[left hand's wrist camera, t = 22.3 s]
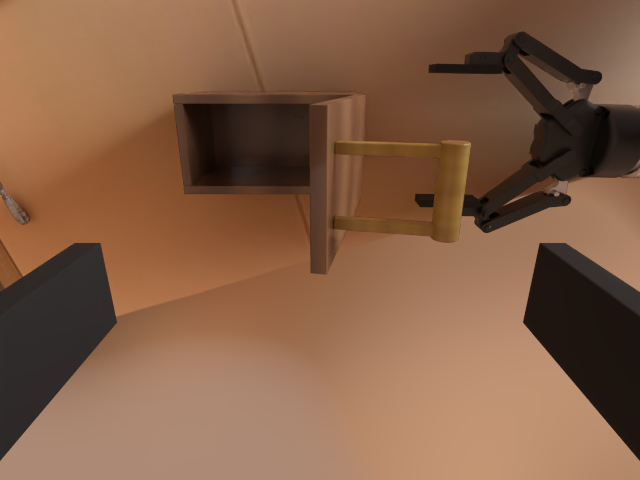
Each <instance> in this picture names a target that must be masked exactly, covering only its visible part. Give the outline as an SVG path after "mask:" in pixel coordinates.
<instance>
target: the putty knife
mask: <svg viewBox="0 0 640 480" xmlns="http://www.w3.org/2000/svg"><path fill="white" fill-rule="evenodd" d="M0 194H1V195H2V196H3V197H2V198H3V200H4V202H5V205H6V206H7V208H8V209H9V211H10V212H11V214H12V215H13V217H14V218H15V219H16V221H17V222H18V223H20V224H27V223H28V222H29V221H30V219H29V217H28V215H27V214H26V212H25V211H24V210H23V209H22V208H21V207H20V206H19V205H18V204H17V203H16V202H15V201H14V200H13V199H12V198H11V197H10V196H9V195H7V193H6V192H5V190H4V188H3V186H2V184H1V183H0Z"/></svg>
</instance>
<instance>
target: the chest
mask: <svg viewBox="0 0 640 480" xmlns="http://www.w3.org/2000/svg"><path fill="white" fill-rule="evenodd" d="M352 95H360V94H357V93H354V92H194V93H182V94H173V102H174V110H175V118H176V126H177V135H178V143H179V151H180V159H181V167H182V176H183V184H184V193H185V194H310V130H309V105H311V104H315V103H320V102H325V101H329V100H334V99H338V98H343V97H348V96H352Z"/></svg>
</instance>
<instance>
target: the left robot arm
mask: <svg viewBox="0 0 640 480" xmlns="http://www.w3.org/2000/svg"><path fill="white" fill-rule="evenodd" d="M116 323H117V321H116V316H115V311H114V306H113V301H112V297H111V292H110V287H109V282H108V278H107V273H106V268H105V263H104V258H103V254H102V249H101V244H100V243H74V244H73V245H71V246H70V247H68V248H67V249H65V250H63V251H62V252H60V253H59V254H57V255H56V256H54V257H53V258H51V259H50V260H48V261H47V262H45V263H44V264H42V265H41V266H39V267H38V268H36V269H35V270H33V271H32V272H30V273H28V274H27V275H25V276H24V277H22V278H21V279H19V280H18V281H16V282H15V283H13V284H12V285H10V286H9V287H7V288H6V289H4V290H3V291H1V292H0V460H1V459H2V458H3V457H4V456H5V454H6V453H7V452H8V451H9V450H10V449H11V447H12V446H13V445H14V444H15V443H16V441H17V440H18V439H19V438H20V437H21V436H22V434H23V433H24V432H25V431H26V430H27V428H28V427H29V426H30V425H31V424H32V422H33V421H34V420H35V419H36V418H37V417H38V415H39V414H40V413H41V412H42V411H43V409H44V408H45V407H46V406H47V405H48V404H49V402H50V401H51V400H52V399H53V398H54V396H55V395H56V394H57V393H58V392H59V390H60V389H61V388H62V387H63V386H64V385H65V383H66V382H67V381H68V380H69V379H70V377H71V376H72V375H73V374H74V373H75V372H76V370H77V369H78V368H79V367H80V366H81V364H82V363H83V362H84V361H85V360H86V358H87V357H88V356H89V355H90V354H91V353H92V351H93V350H94V349H95V348H96V347H97V345H98V344H99V343H100V342H101V341H102V340H103V338H104V337H105V336H106V335H107V334H108V332H109V331H110V330H111V329H112V328H113V327H114V325H115V324H116ZM523 323H524V324H525V325H526V327H527V328H528V329H529V330H530V331H531V332H532V334H533V335H534V336H535V337H536V338H537V340H538V341H539V342H540V343H541V344H542V345H543V347H544V348H545V349H546V350H547V351H548V353H549V354H550V355H551V356H552V357H553V358H554V360H555V361H556V362H557V363H558V364H559V365H560V367H561V368H562V369H563V370H564V371H565V373H566V374H567V375H568V376H569V377H570V379H571V380H572V381H573V382H574V383H575V385H576V386H577V387H578V388H579V389H580V390H581V392H582V393H583V394H584V395H585V396H586V398H587V399H588V400H589V401H590V402H591V404H592V405H593V406H594V407H595V408H596V409H597V411H598V412H599V413H600V414H601V415H602V417H603V418H604V419H605V420H606V421H607V422H608V424H609V425H610V426H611V427H612V428H613V430H614V431H615V432H616V433H617V434H618V436H619V437H620V438H621V439H622V440H623V441H624V443H625V444H626V445H627V446H628V447H629V449H630V450H631V451H632V452H633V453H634V454H635V456H636V457H637V458H638V459H639V460H640V292H639V291H637V290H636V289H634V288H633V287H631V286H630V285H628V284H627V283H625V282H624V281H622V280H621V279H619V278H618V277H616V276H615V275H613V274H612V273H610V272H608V271H607V270H605V269H604V268H602V267H601V266H599V265H598V264H596V263H595V262H593V261H592V260H590V259H589V258H587V257H586V256H584V255H583V254H581V253H579V252H578V251H577V250H575V249H573V248H572V247H570V246H569V245H567V244H566V243H540V244H539V249H538V254H537V258H536V263H535V268H534V273H533V278H532V282H531V287H530V292H529V297H528V301H527V306H526V311H525V316H524V321H523Z"/></svg>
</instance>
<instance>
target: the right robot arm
mask: <svg viewBox="0 0 640 480" xmlns="http://www.w3.org/2000/svg"><path fill="white" fill-rule="evenodd" d="M518 54H519V55H520V56H522V57H523V58H525V59H526V60H528V61H530V62H531V63H533V64H534V65H536V66H538V67H539V68H541V69H542V70H544V71H545V72H547V73H549V74H550V75H552V76H553V77H555V78H557V79H558V80H560V81H563V82H567V88H568V90H569V91H571V92H573V94H574V99H571V100H569V101H568V102H566V103H565V104H563V105H562V103H561V102H559V101H558V100H556V99H555V98H554V97H553V96H552V95H551V94H550V93H549V92H548V90H547V89H546V88H545V87H544V86H543V85H542V84H541V82H540V81H539V80H538V79H537V78H536V77H535V76H534V74H533V73H532V72H531V71H530V70H529V69H528V68H527V66H526V65H525V64H524V63H523V62H522V61H521V60H520V58H519V57H518V56H517V55H518ZM428 73H461V74H502V73H503V74H504V75H505V76H506V77H507V78H508V79H509V80H510V81H511V83H512V84H513V85H514V86H515V87H516V88H517V89H518V90H519V91H520V93H521V94H522V95H523V96H524V97H525V98H526V99H527V100H528V101H529V103H530V104H531V105H532V106H533V109H534V110H535V111H536V113H537V114H538V115H539V116H540V117H541V118H542V119H541V120H540V121H539V122H538V124H535V128H534V141H533V143H532V145H531V148H530V153H529V154H531V155H532V159H531V160H530V161H528V162H527V163H526V164H524V165H523V166H522V167H521V169H520V170H519V171H518V172H516V173H515V174H513V175H512V176H510V177H509V178H508V179H506V180H505V181H503V182H502V183H501V184H499V185H498V186H496V187H495V188H494V189H492V190H491V191H489V192H488V193H486V194H485V195H484V196H482V197H481V198H479V199H477V198H475V197H474V196H473V195H464V201H463V209H462V216H474V217H475V221H474V222H475V225H476V226H478V227H479V228H480V229H481V230H482V231H483V232H485V233H489V232H491V231H494V230H496V229H499V228H501V227H503V226H506V225H508V224H511V223H513V222H515V221H518V220H520V219H523V218H525V217H527V216H530V215H532V214H535V213H537V212H539V211H542V210H544V209H547V208H549V207H558V206H567V205H568V204H569V203H570V202H571V197H570V196H568V195H566V193H567V186H568V181H569V180H571V179H573V178H576V177H608V178H616V177H622V178H640V105H635V106H632V105H613V104H592V103H591V102H589V101H588V98H589V96H590V93H591V90H592V87H593V84H598V83H599V82H600V81H601V79H602V74H601V73H600V72H598V71H592V70H585V69H581V68H579V67H578V66H576V65H575V64H573V63H572V62H570V61H569V60H567V59H566V58H564V57H562V56H561V55H559V54H558V53H556V52H555V51H553V50H552V49H550V48H549V47H547V46H545V45H544V44H542V43H541V42H539V41H538V40H536V39H535V38H533V37H531V36H530V35H528V34H527V33H525V32H518V33H514V34H510V35H508V36H507V37H506V38H505V40H504V45H503V47H502V49H501V50H500V51H499V52H473V53H469V54H467V55H465V63H464V64H432V65H429V72H428ZM549 176H551V177H552V178H554V179H555V180H554V182H553V184H551V185H549V186H547V187H544V188H543V191H540V192H536V193H533V194H530V195H528V196H526V197H523V198H521V199H519V200H516V201H514V202H512V203H509V204H507V205H504V204H506V203H507V202H509V201H510V200H512V199H513V198H515V197H516V196H518V195H519V194H520V193H522V192H523V191H525V190H526V189H528V188H529V187H531V186H532V185H533V184H535V183H536V182H540V181H543V180H545V179H546V178H547V177H549ZM434 196H435V194H415V201H416V202H417V204H418V205H419V206H420V207H433V206H434ZM503 205H504V206H503Z"/></svg>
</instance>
